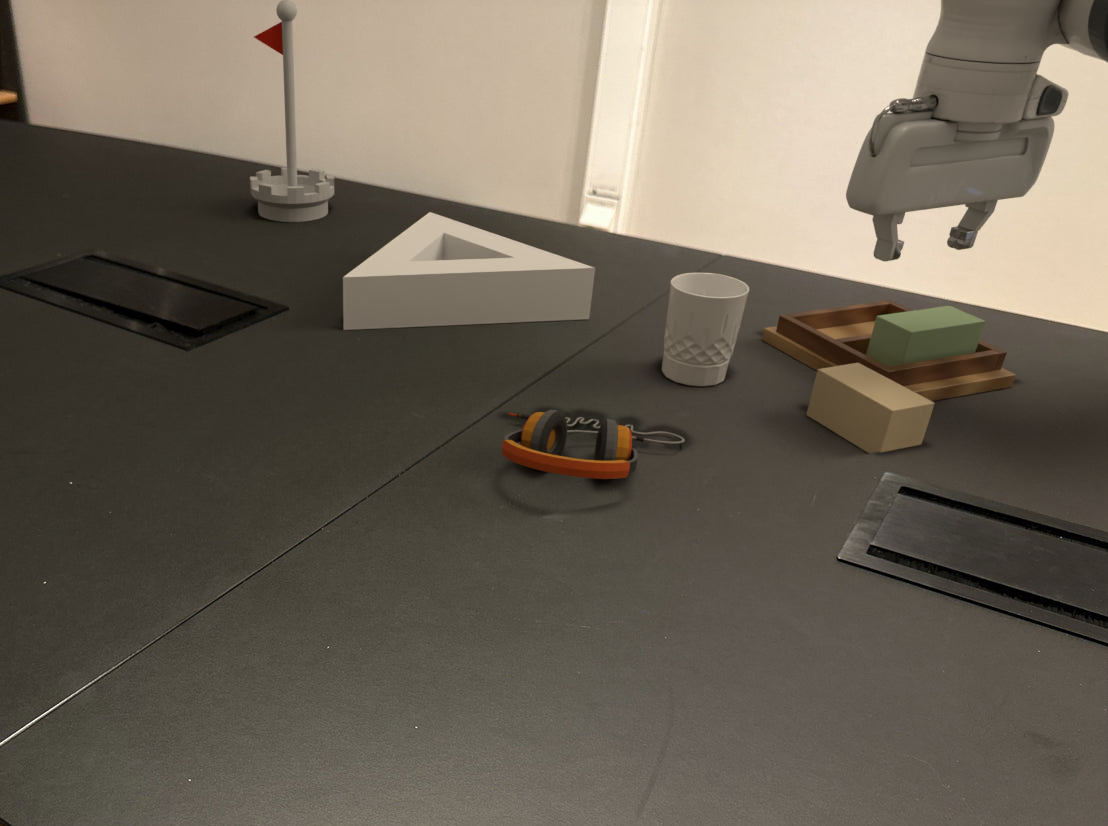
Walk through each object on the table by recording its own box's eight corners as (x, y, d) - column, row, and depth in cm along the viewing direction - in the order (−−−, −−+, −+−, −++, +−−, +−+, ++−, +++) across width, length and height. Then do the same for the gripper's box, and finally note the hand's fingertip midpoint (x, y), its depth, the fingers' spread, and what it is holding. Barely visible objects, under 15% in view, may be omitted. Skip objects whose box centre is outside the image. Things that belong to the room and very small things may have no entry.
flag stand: (344, 204, 170) (342, -4, 154) (321, 226, 159) (317, 5, 143) (267, 198, 172) (258, -7, 156) (239, 220, 161) (226, 1, 145)
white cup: (644, 377, 113) (658, 287, 107) (672, 354, 118) (687, 267, 113) (715, 395, 109) (734, 303, 104) (741, 371, 114) (759, 282, 109)
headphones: (692, 408, 100) (668, 453, 82) (682, 461, 102) (656, 516, 84) (522, 380, 105) (464, 417, 87) (515, 432, 107) (457, 478, 89)
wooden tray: (876, 323, 128) (884, 295, 126) (1011, 387, 112) (1022, 356, 110) (761, 339, 122) (767, 311, 121) (885, 409, 107) (895, 377, 105)
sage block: (935, 348, 117) (949, 305, 114) (971, 365, 113) (986, 320, 110) (864, 359, 114) (876, 315, 111) (898, 377, 110) (911, 332, 107)
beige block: (805, 415, 105) (817, 368, 103) (845, 408, 107) (858, 362, 104) (877, 459, 98) (892, 410, 95) (919, 451, 99) (935, 402, 96)
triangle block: (428, 257, 147) (429, 212, 143) (613, 281, 139) (619, 234, 136) (343, 330, 123) (342, 277, 120) (560, 364, 115) (566, 308, 112)
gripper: (912, 106, 83) (866, 277, 91) (1083, 92, 91) (1027, 251, 98) (852, 93, 88) (812, 256, 96) (1019, 81, 96) (970, 232, 103)
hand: (922, 253), depth 97 cm, fingers open, 8 cm apart
